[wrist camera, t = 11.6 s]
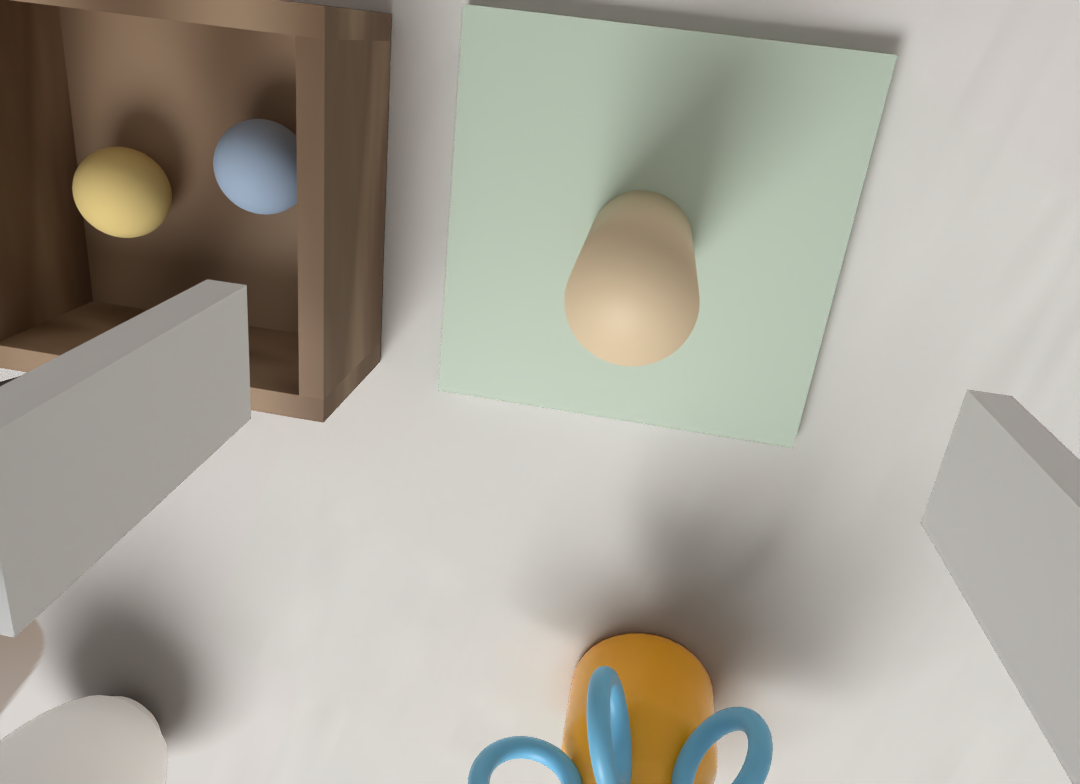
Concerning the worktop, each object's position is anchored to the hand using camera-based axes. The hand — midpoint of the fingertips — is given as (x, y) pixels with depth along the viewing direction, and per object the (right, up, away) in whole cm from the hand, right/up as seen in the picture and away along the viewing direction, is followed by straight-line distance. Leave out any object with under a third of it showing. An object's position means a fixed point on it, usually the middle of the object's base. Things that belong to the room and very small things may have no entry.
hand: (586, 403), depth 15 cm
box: (-12, +8, +14) cm, 20 cm away
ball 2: (-10, +8, +11) cm, 17 cm away
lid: (+3, +6, +13) cm, 14 cm away
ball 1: (-15, +7, +13) cm, 21 cm away
